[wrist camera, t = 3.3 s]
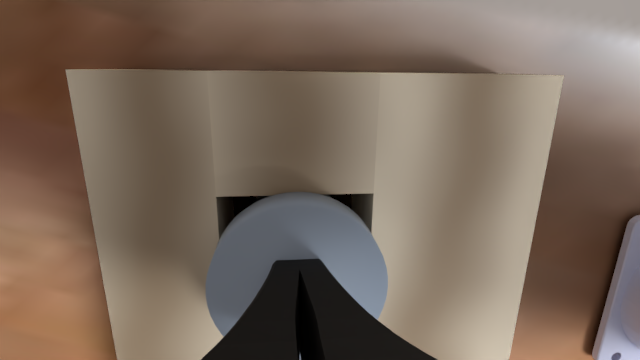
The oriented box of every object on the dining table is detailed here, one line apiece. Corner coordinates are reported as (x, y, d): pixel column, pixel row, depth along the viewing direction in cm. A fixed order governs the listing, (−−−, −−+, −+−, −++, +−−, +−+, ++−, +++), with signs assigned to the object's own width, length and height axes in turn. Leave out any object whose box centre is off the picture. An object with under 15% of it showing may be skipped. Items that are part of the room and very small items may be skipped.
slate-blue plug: (359, 162, 15) (394, 203, 10) (354, 278, 16) (382, 359, 12) (224, 163, 14) (197, 208, 10) (232, 283, 16) (212, 371, 11)
